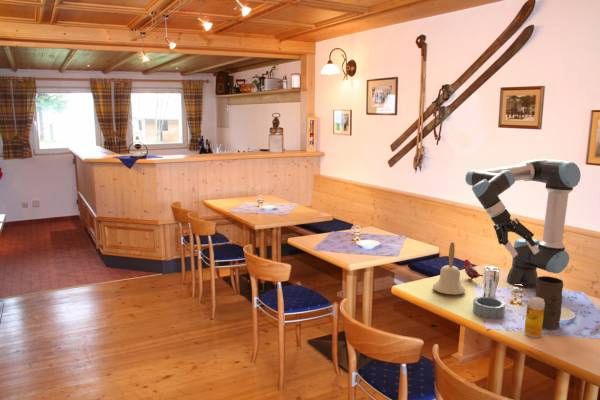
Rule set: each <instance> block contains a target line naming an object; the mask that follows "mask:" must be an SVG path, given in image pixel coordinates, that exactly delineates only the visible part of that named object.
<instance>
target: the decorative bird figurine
mask: <svg viewBox="0 0 600 400" xmlns="http://www.w3.org/2000/svg"><path fill="white" fill-rule="evenodd" d="M463 265H464V272H465V273H466V275H467V276H468V277H467V279H468V280H469V281H471V282H474V280H473V279H477V278H479V277H483V274H481V273H479V272H478V270H477V269H476V268H474V266H473V265H472V264H471V262H470V260H469V259H464V261H463Z"/></svg>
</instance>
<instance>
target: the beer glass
mask: <svg viewBox="0 0 600 400" xmlns="http://www.w3.org/2000/svg"><path fill="white" fill-rule="evenodd" d="M482 275H483V276H482V284H483V285H482V286H483V293H482V296H481V297H491V298H495V299H497V296H496V295H497V294H496V293H497V289H498V285H499V282H500V281H499V280H500V269H499V267H495V266H485V267H484V269H483V274H482Z"/></svg>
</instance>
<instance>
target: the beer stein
mask: <svg viewBox="0 0 600 400" xmlns="http://www.w3.org/2000/svg"><path fill="white" fill-rule="evenodd" d="M536 283H537V284H536V287H535V291H534V292H535V294H534V295H535V296H534V297H540V298H542V299H544V302H545V307H544V316H543V324H542V330H543V329H544V330H557V329H559V328H560V326H561V325H560V321H561V317H562V316H561V315H562V303H563V289H564V281H563V279H561V278H557V277H555V276H549V275H548V276H547V275H542V276H538V278H537V281H536Z"/></svg>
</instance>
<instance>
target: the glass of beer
mask: <svg viewBox="0 0 600 400" xmlns="http://www.w3.org/2000/svg"><path fill="white" fill-rule="evenodd" d="M526 305H527V306H526V314H525V323H524V333H525V335H527V336H528V337H530V338H534V339H535V338H539V337H541V336H542V333H543V332H542V331H543V328H542V324H543V316H544V307H545V302H544V299H542V298H540V297H535V296H530V297H529V298H528V299H527V304H526Z"/></svg>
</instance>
